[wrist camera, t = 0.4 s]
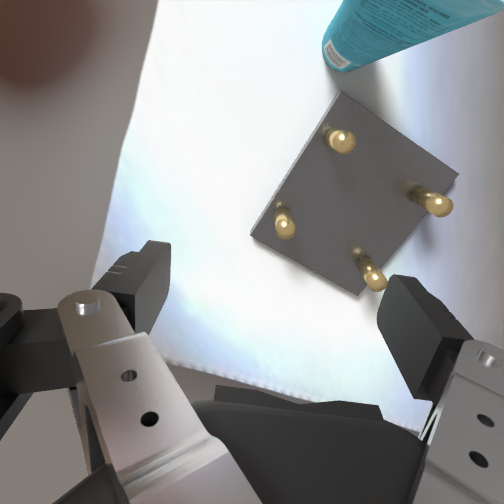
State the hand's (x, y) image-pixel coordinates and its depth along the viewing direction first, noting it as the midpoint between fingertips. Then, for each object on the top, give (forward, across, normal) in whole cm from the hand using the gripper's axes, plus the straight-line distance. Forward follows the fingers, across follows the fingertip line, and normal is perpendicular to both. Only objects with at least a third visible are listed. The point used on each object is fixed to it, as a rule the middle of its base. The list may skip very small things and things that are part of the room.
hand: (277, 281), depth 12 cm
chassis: (+28, -10, +4) cm, 30 cm away
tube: (+29, -6, -12) cm, 32 cm away
